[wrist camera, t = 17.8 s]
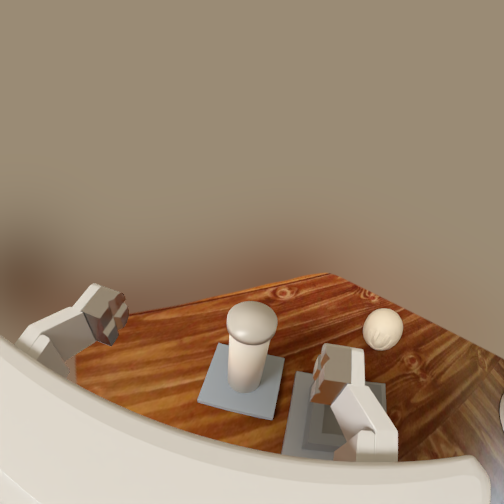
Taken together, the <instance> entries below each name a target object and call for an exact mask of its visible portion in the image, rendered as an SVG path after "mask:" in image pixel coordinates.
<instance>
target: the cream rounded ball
mask: <svg viewBox="0 0 504 504" xmlns="http://www.w3.org/2000/svg"><path fill="white" fill-rule="evenodd" d="M402 332H403V323H402V320H401V318H400V316H399V315H398V314H397V313H396V312H395V311H393V310H391V309H386V308H382V309H378V310H375V311H373V312H372V313H371V314H370V315H369V316H368V318H367V319H366V321H365V323H364V326H363V337H364V339H365V341H366V343H367V344H368V345H369V346H370V347H372V348H373V349H375V350H387V349H390V348H392V347H393V346H395V345H396V344H397V342H398V341H399V339H400V338H401V335H402Z"/></svg>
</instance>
